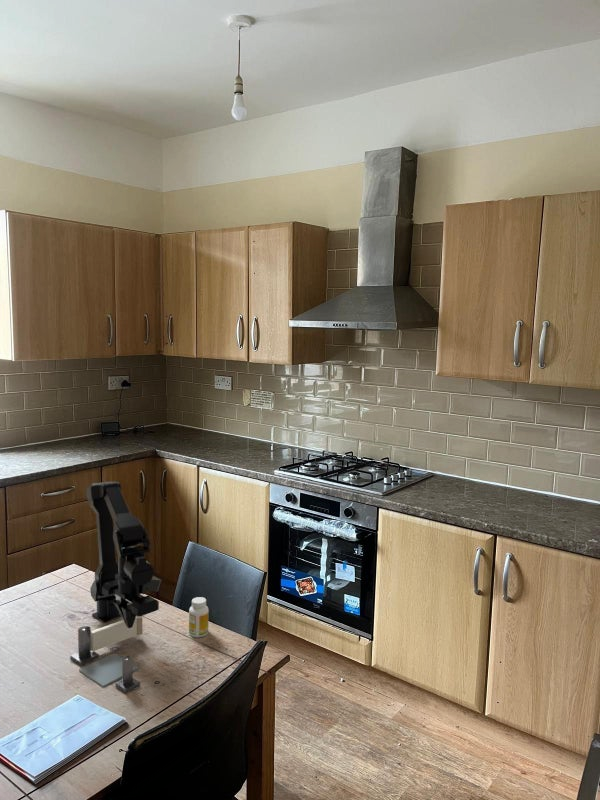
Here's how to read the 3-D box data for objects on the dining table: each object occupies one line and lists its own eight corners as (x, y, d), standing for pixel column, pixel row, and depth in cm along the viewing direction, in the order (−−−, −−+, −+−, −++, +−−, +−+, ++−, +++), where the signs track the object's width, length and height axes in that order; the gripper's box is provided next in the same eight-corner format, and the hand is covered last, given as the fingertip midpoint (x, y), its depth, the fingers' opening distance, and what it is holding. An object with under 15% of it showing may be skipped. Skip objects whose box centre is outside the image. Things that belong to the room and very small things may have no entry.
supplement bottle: (209, 628, 172) (209, 595, 170) (207, 638, 166) (207, 604, 165) (190, 627, 171) (190, 595, 170) (187, 637, 166) (187, 604, 165)
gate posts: (70, 659, 154) (69, 629, 153) (87, 651, 158) (87, 622, 157) (123, 694, 140) (123, 662, 139) (141, 684, 144) (141, 653, 143)
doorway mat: (79, 671, 149) (79, 669, 149) (114, 654, 156) (114, 653, 156) (103, 687, 142) (103, 685, 142) (138, 669, 150) (138, 667, 150)
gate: (93, 651, 155) (93, 633, 154) (90, 649, 156) (90, 630, 155) (142, 633, 164) (142, 616, 164) (139, 631, 166) (139, 614, 165)
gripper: (176, 573, 157) (176, 629, 159) (137, 553, 169) (137, 605, 171) (138, 585, 149) (138, 645, 150) (100, 563, 161) (101, 618, 163)
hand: (129, 627), depth 159 cm, fingers closed
